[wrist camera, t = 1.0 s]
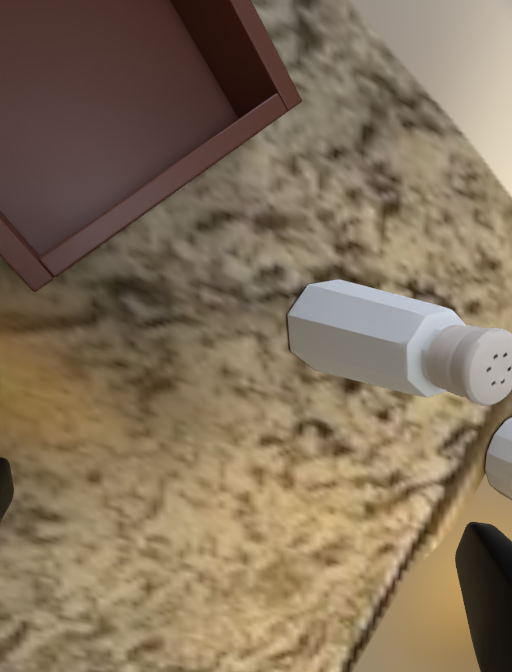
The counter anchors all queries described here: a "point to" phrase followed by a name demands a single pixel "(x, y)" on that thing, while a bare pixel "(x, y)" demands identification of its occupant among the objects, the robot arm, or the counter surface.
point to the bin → (120, 114)
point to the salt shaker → (398, 343)
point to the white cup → (501, 460)
